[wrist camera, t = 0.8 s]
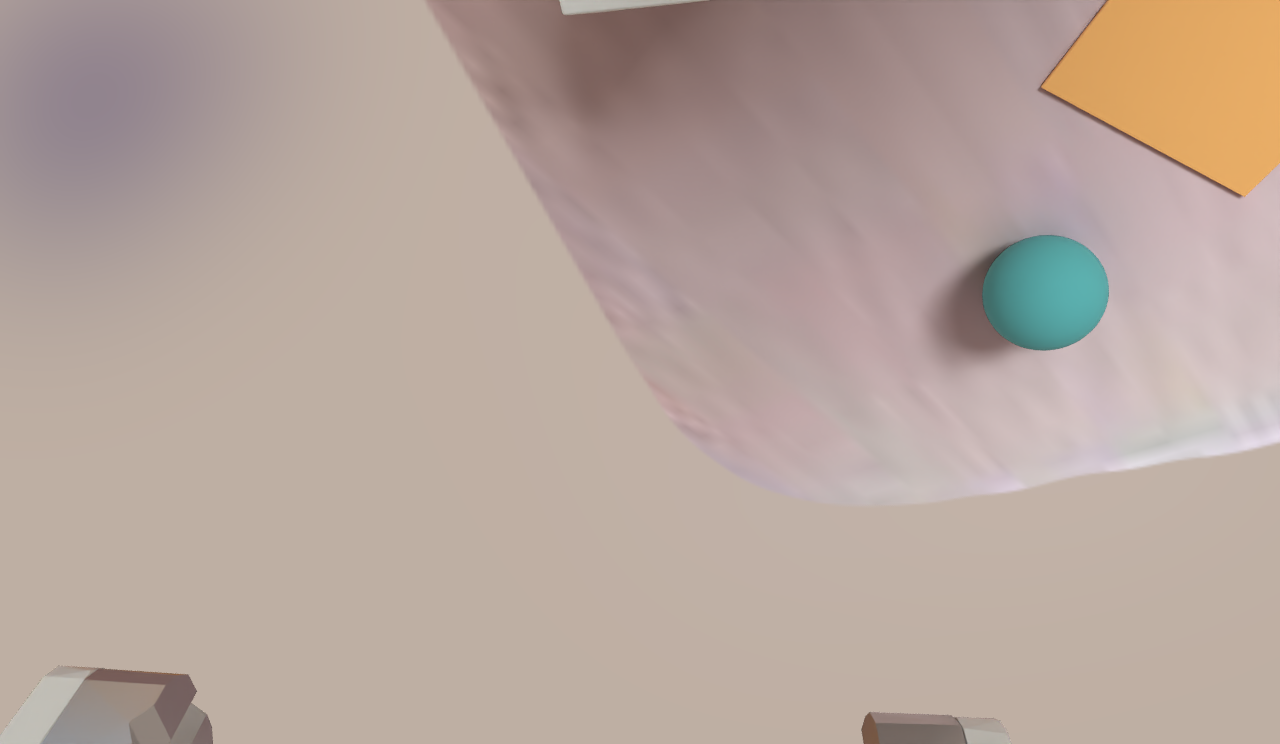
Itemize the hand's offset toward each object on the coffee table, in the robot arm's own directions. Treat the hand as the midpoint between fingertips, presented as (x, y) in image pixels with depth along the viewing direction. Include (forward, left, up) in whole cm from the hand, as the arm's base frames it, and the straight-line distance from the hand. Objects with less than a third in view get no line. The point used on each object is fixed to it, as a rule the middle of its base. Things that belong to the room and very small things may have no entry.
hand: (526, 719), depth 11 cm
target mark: (-7, +21, -39) cm, 45 cm away
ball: (+7, +21, -36) cm, 43 cm away
